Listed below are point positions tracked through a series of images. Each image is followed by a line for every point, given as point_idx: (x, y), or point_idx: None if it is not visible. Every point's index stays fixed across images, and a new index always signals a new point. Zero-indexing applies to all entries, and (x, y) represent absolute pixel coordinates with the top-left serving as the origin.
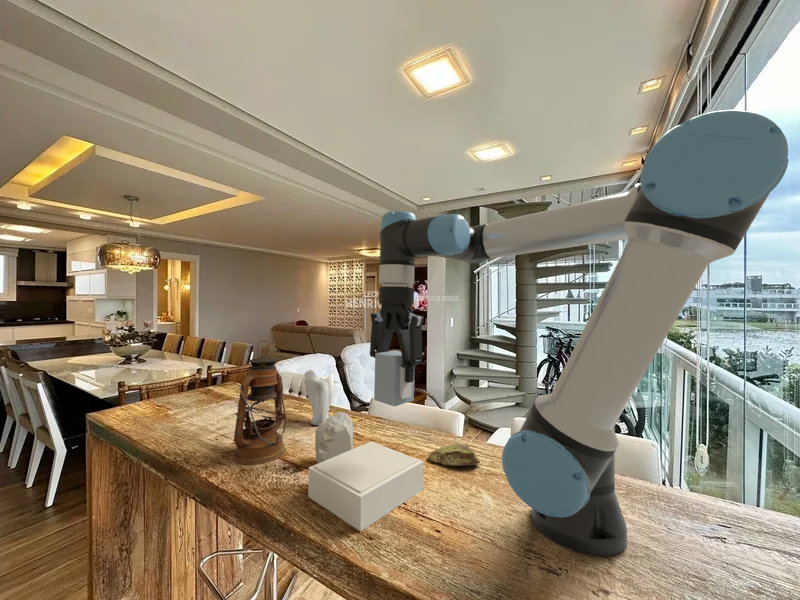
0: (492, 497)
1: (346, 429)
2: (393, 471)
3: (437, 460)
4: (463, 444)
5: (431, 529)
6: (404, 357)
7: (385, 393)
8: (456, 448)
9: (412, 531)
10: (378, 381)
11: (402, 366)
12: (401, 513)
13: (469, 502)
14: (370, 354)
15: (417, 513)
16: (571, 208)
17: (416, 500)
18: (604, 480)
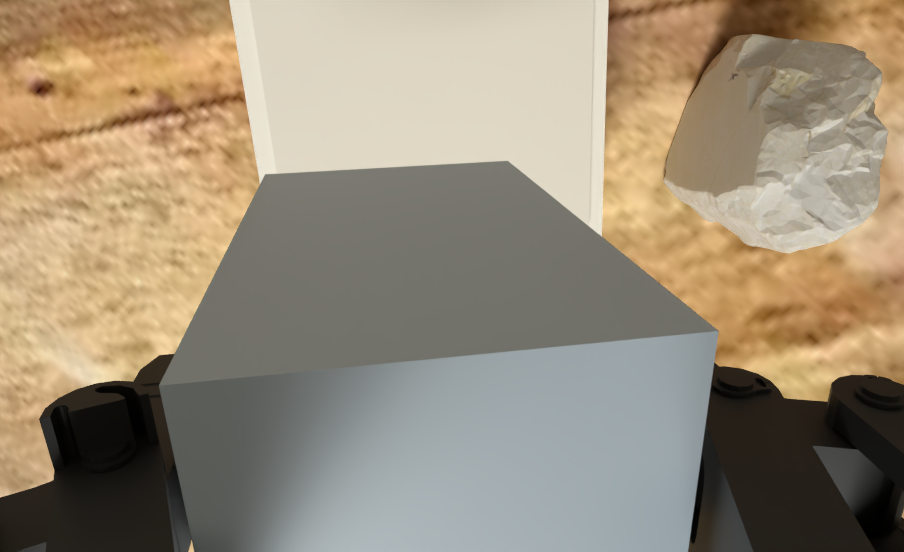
0: (77, 387)
1: (747, 183)
2: (282, 102)
3: None
4: None
5: (63, 77)
6: (102, 525)
7: (377, 186)
8: None
9: (97, 14)
10: (497, 204)
11: (130, 393)
12: (214, 64)
13: (106, 304)
14: (889, 384)
15: (175, 110)
16: None
17: (244, 169)
18: None
